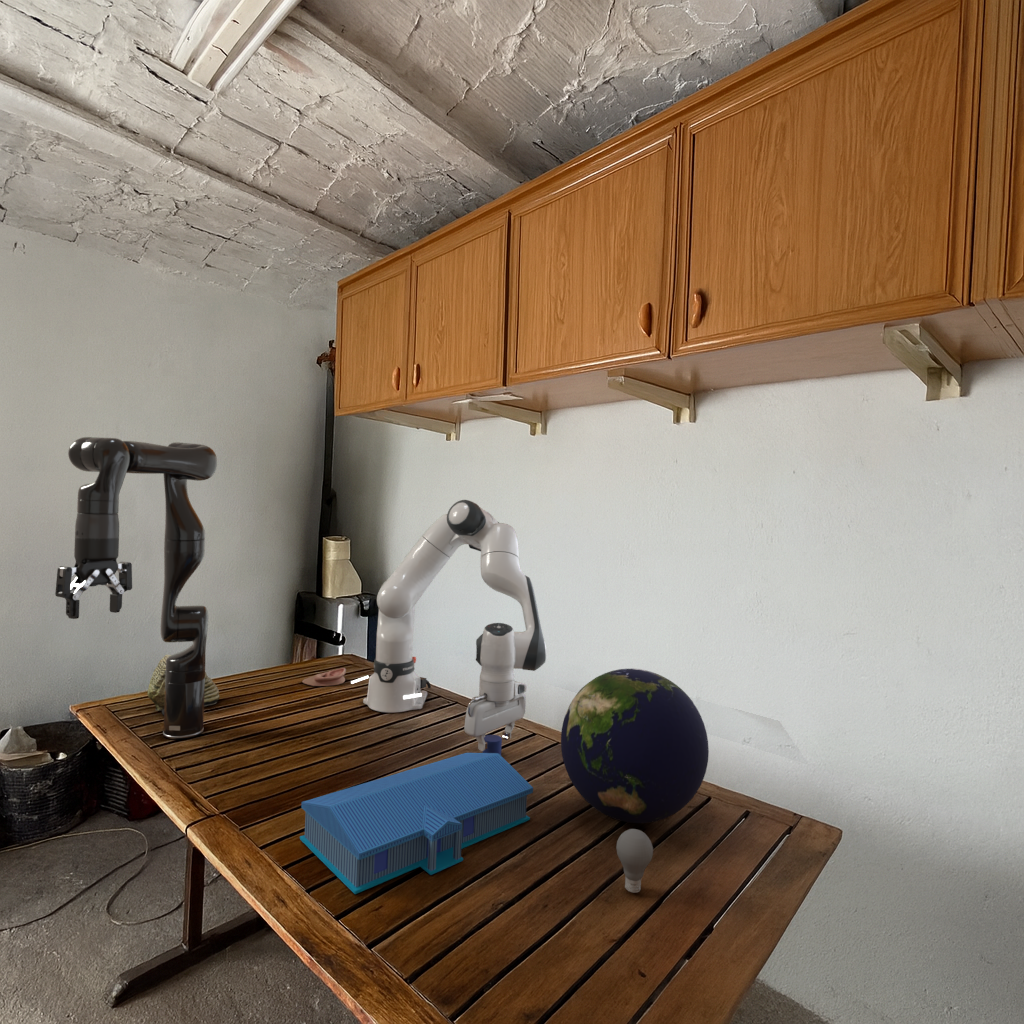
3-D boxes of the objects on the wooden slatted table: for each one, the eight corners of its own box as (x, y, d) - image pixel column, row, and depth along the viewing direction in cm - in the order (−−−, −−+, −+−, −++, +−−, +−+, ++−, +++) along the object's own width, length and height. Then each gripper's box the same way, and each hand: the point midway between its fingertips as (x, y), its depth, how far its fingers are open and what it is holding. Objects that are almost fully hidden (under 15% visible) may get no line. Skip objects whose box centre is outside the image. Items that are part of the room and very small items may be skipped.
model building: (364, 904, 99) (367, 841, 99) (298, 838, 117) (300, 784, 117) (541, 825, 125) (544, 775, 125) (465, 781, 144) (467, 737, 143)
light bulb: (610, 879, 108) (613, 822, 108) (644, 879, 109) (647, 822, 109) (619, 902, 102) (622, 840, 102) (655, 901, 103) (658, 840, 103)
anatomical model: (297, 672, 210) (315, 663, 221) (297, 684, 210) (314, 675, 221) (334, 676, 207) (350, 667, 219) (333, 688, 208) (349, 679, 219)
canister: (499, 761, 156) (499, 742, 156) (480, 758, 157) (481, 740, 157) (502, 753, 161) (503, 735, 161) (484, 751, 162) (485, 733, 161)
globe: (537, 831, 123) (544, 678, 123) (580, 772, 151) (585, 647, 150) (696, 871, 112) (704, 703, 111) (710, 800, 140) (717, 665, 139)
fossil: (144, 707, 182) (145, 655, 182) (212, 696, 194) (213, 647, 194) (151, 716, 175) (153, 662, 175) (221, 703, 188) (223, 653, 188)
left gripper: (74, 538, 121) (71, 623, 121) (142, 535, 134) (139, 612, 134) (48, 535, 123) (45, 618, 124) (117, 533, 137) (115, 608, 137)
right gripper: (479, 702, 149) (477, 760, 149) (530, 683, 165) (528, 736, 165) (459, 696, 153) (457, 753, 153) (511, 679, 169) (509, 730, 169)
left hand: (94, 615), depth 129 cm, fingers open, 8 cm apart
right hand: (495, 744), depth 159 cm, fingers open, 8 cm apart
